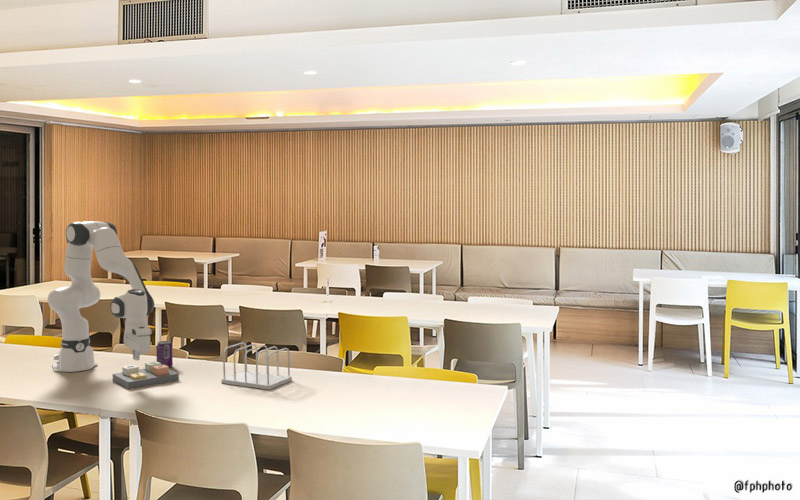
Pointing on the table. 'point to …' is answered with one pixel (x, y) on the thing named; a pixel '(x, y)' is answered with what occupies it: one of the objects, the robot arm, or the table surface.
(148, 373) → the keypad base
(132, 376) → the ochre key
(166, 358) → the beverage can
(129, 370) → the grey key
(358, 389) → the table surface
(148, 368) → the sage key
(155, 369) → the terracotta key
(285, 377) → the file sorter
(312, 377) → the table surface
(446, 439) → the table surface
